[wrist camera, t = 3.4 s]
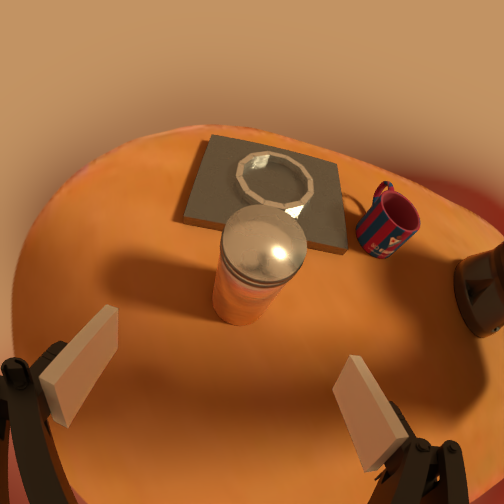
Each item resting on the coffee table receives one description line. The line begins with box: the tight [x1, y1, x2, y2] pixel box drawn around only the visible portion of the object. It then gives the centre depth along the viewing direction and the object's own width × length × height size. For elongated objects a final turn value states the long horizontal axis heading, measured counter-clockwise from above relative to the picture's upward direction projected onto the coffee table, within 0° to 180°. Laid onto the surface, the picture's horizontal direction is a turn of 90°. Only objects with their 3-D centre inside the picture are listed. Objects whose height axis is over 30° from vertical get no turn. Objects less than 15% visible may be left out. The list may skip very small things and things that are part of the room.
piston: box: [212, 205, 307, 326], centre depth 23 cm, size 6×6×12 cm
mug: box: [356, 181, 420, 259], centre depth 34 cm, size 7×10×7 cm
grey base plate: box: [183, 135, 348, 255], centre depth 35 cm, size 20×16×3 cm
